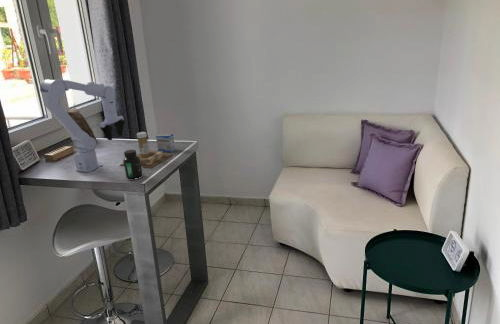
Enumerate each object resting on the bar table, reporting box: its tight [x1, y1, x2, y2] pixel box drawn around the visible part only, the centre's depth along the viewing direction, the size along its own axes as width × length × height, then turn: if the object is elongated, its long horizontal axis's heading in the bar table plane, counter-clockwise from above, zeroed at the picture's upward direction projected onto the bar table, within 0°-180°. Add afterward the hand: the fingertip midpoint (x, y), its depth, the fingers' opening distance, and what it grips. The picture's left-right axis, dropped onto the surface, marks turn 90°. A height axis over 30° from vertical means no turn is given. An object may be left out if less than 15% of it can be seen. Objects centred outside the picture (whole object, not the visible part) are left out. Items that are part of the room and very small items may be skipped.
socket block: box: [119, 150, 173, 169], centre depth 192 cm, size 18×18×3 cm
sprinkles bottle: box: [136, 131, 150, 158], centre depth 190 cm, size 5×5×13 cm
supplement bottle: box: [122, 149, 144, 180], centre depth 170 cm, size 7×7×12 cm
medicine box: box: [155, 133, 176, 153], centre depth 203 cm, size 8×4×9 cm, turn 76°
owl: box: [66, 108, 98, 143], centre depth 225 cm, size 13×13×20 cm
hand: (115, 137), depth 196 cm, fingers open, 7 cm apart
